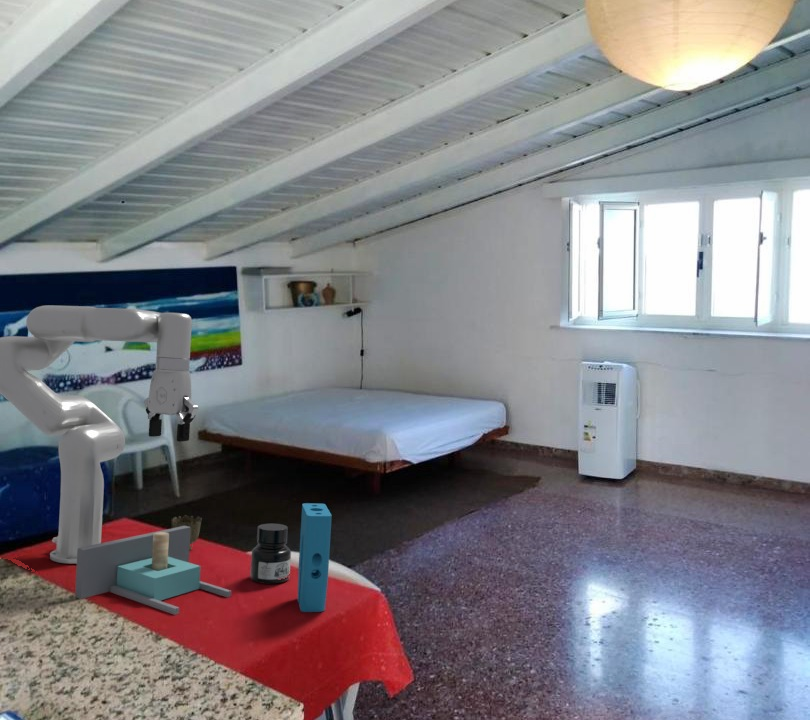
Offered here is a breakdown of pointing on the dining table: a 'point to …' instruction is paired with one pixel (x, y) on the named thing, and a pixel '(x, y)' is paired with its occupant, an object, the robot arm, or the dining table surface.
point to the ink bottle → (271, 555)
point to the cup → (190, 523)
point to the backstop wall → (104, 559)
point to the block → (314, 557)
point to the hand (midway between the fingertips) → (168, 438)
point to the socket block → (159, 578)
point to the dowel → (160, 551)
